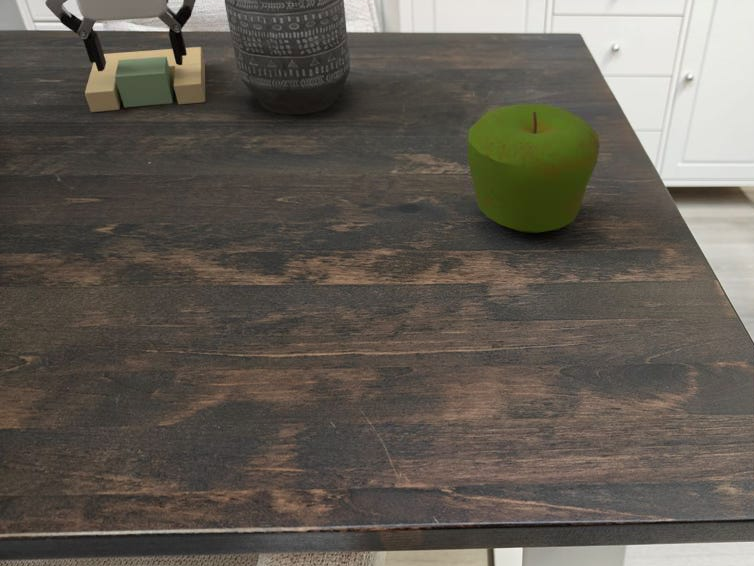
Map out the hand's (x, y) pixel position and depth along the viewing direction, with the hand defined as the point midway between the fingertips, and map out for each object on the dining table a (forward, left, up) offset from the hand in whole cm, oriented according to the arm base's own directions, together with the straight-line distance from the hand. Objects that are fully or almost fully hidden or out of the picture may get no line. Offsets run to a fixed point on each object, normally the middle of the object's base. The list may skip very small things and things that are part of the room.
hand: (141, 64), depth 96 cm
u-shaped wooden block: (0, +3, -4) cm, 5 cm away
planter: (+19, -6, -4) cm, 20 cm away
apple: (+39, -42, -4) cm, 57 cm away
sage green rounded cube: (0, 0, -4) cm, 4 cm away
